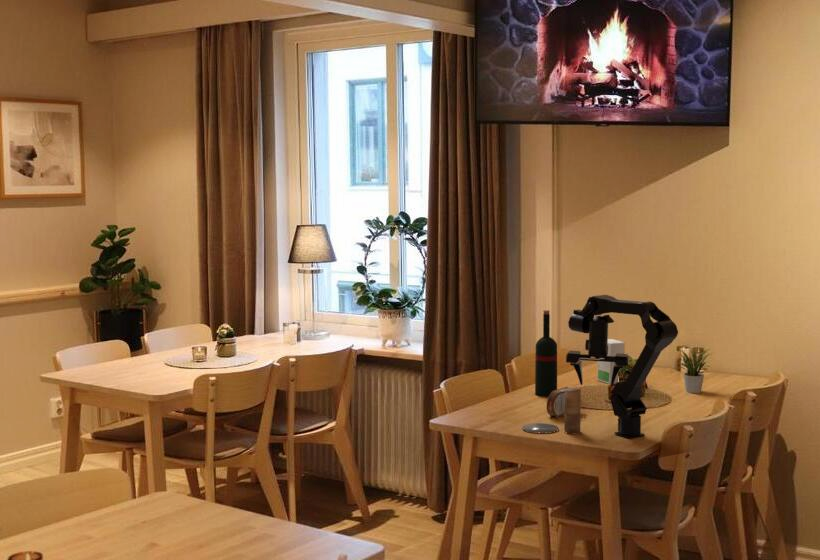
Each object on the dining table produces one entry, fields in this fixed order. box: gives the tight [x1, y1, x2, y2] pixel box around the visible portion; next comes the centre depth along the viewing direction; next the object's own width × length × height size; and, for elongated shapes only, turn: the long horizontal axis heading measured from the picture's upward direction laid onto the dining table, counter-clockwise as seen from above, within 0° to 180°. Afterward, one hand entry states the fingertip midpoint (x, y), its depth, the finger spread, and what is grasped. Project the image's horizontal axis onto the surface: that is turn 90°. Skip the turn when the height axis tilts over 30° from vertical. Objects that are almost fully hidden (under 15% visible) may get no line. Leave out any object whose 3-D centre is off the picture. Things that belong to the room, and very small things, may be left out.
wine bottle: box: [534, 309, 558, 398], centre depth 365 cm, size 8×10×30 cm
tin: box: [546, 386, 570, 418], centre depth 336 cm, size 15×3×8 cm, turn 141°
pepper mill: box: [563, 387, 582, 434], centre depth 312 cm, size 5×5×13 cm
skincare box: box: [596, 338, 626, 385], centre depth 386 cm, size 8×7×16 cm
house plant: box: [678, 348, 714, 394], centre depth 367 cm, size 14×14×16 cm
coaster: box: [521, 422, 559, 434], centre depth 317 cm, size 11×11×1 cm
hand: (596, 385), depth 318 cm, fingers open, 9 cm apart
